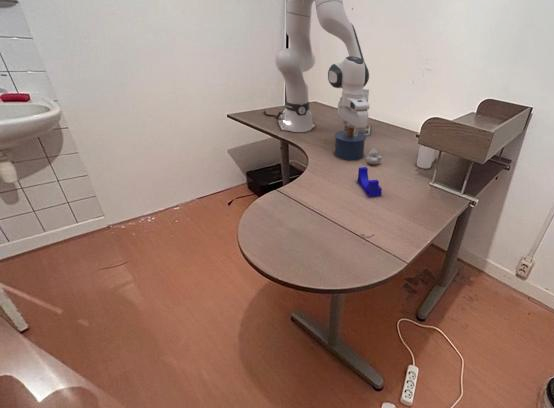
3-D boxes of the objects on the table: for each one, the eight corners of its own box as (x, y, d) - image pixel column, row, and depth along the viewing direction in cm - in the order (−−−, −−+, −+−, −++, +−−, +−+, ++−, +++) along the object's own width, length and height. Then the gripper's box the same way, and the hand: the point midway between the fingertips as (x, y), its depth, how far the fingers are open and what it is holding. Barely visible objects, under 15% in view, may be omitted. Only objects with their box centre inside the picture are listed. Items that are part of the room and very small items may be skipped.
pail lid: (328, 134, 133) (329, 123, 130) (355, 131, 140) (356, 120, 137) (343, 145, 123) (344, 133, 120) (371, 141, 130) (372, 130, 127)
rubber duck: (365, 161, 131) (367, 143, 127) (380, 162, 131) (382, 144, 127) (366, 166, 126) (368, 148, 122) (381, 167, 127) (384, 149, 123)
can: (419, 161, 135) (424, 136, 129) (432, 165, 133) (438, 140, 126) (413, 166, 130) (418, 140, 124) (427, 170, 128) (433, 144, 121)
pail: (330, 151, 137) (330, 133, 132) (354, 148, 143) (355, 130, 139) (343, 162, 128) (344, 143, 123) (368, 158, 134) (370, 140, 130)
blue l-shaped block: (380, 196, 105) (382, 181, 102) (369, 197, 104) (370, 182, 101) (368, 180, 115) (369, 166, 112) (357, 181, 113) (358, 167, 110)
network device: (356, 122, 179) (358, 88, 168) (370, 124, 179) (373, 89, 168) (353, 136, 157) (355, 97, 146) (369, 138, 157) (373, 99, 147)
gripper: (334, 95, 129) (333, 126, 136) (358, 107, 114) (355, 141, 122) (346, 94, 132) (345, 125, 139) (372, 106, 117) (368, 139, 125)
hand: (350, 133), depth 130 cm, fingers open, 7 cm apart
